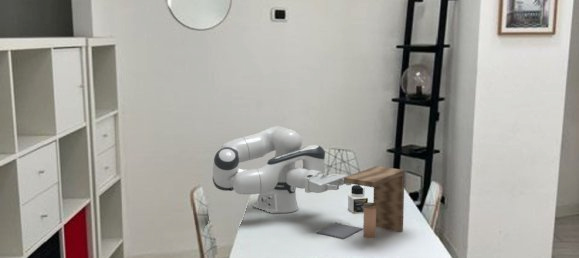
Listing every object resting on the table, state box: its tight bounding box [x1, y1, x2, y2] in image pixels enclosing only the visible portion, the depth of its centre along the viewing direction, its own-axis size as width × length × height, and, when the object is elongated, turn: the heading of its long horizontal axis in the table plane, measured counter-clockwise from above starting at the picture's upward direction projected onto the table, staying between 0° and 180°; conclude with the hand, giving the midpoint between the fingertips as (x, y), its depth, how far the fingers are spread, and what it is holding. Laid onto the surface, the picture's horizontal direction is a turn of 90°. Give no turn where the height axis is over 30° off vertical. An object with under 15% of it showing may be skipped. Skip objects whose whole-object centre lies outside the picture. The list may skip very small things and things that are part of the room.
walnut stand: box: [344, 165, 405, 233], centre depth 230 cm, size 13×26×26 cm, turn 143°
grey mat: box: [316, 222, 363, 240], centre depth 238 cm, size 13×15×1 cm
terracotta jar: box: [362, 202, 377, 239], centre depth 231 cm, size 5×5×13 cm
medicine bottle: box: [347, 184, 369, 214], centre depth 266 cm, size 7×7×12 cm
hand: (344, 185), depth 235 cm, fingers open, 8 cm apart
